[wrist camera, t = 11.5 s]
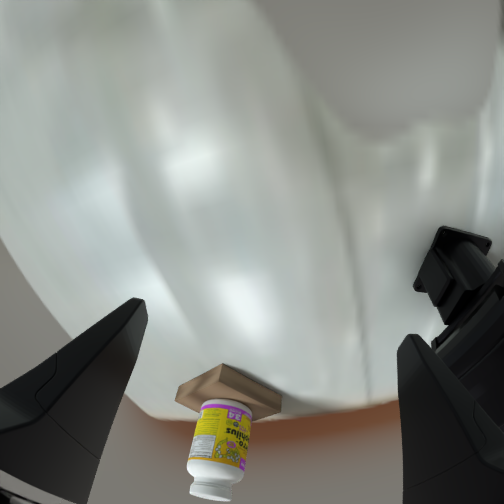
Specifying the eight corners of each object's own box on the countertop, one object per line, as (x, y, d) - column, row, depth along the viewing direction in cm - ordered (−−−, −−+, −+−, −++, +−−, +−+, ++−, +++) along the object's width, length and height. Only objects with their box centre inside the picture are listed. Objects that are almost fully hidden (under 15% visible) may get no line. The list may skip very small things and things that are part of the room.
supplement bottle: (261, 416, 34) (250, 504, 24) (219, 419, 37) (203, 499, 26) (236, 393, 31) (218, 495, 21) (192, 398, 34) (168, 487, 23)
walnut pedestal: (222, 363, 32) (218, 381, 30) (281, 395, 35) (280, 412, 33) (179, 386, 37) (174, 400, 35) (233, 413, 40) (231, 427, 38)
